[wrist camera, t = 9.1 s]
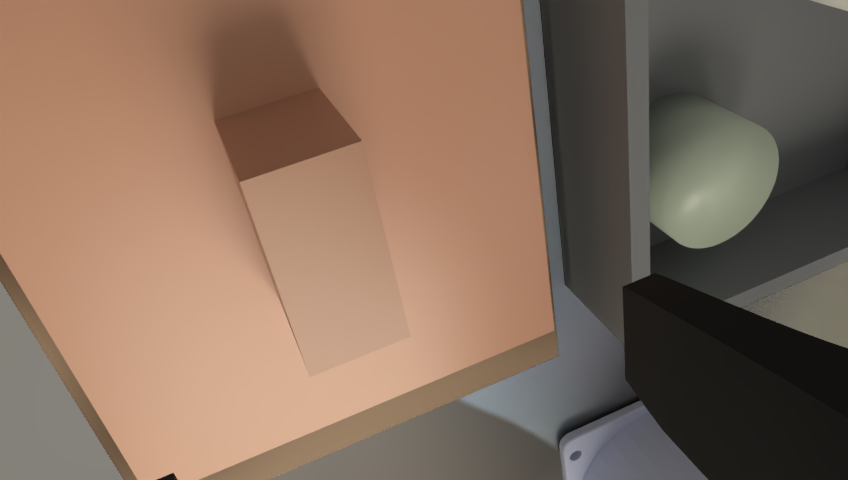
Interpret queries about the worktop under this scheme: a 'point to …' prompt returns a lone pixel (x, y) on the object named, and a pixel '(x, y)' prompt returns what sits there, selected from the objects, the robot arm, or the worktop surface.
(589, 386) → the worktop surface
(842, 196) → the storage box
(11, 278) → the cutting board
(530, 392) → the worktop surface
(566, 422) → the worktop surface
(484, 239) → the lid
